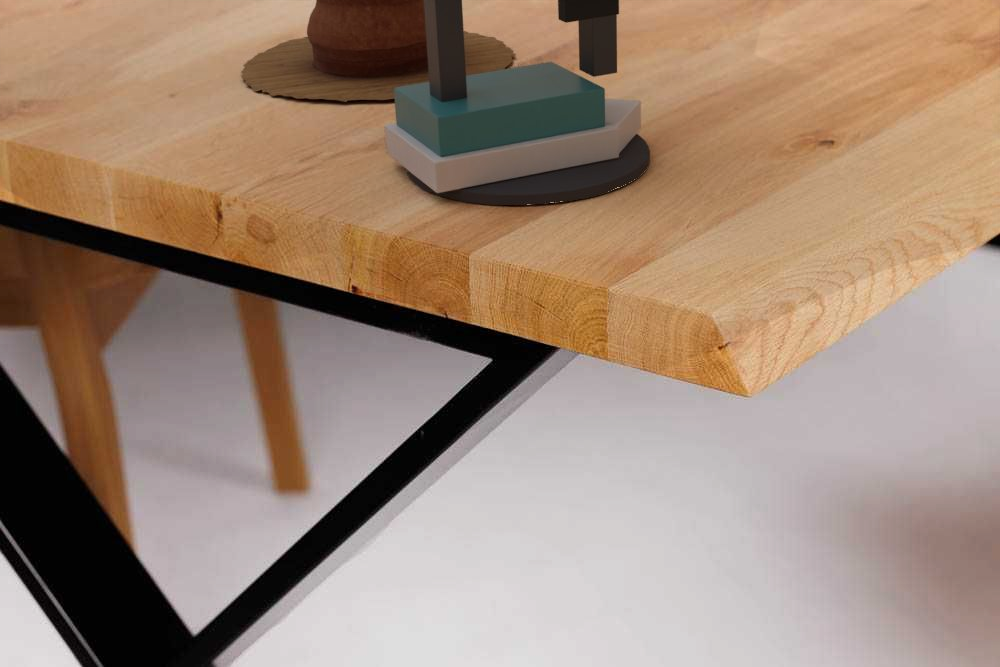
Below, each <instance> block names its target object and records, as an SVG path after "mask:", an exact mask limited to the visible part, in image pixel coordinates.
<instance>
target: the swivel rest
mask: <svg viewBox="0 0 1000 667" xmlns="http://www.w3.org/2000/svg"><path fill="white" fill-rule="evenodd" d="M649 161H651V150H650V146H649V144H648V143H647V141H646V140H645V139H644V138H643V137H642V136H641V135H640V134H638V133H637V134H636V135H635V136H634V137H633V138H632V140H631V141H630V142H629V143H628V144H627V145H626V146H625V147H624V149H623V150H622V151H621V152H620V153H619V158H615V159H610V160H604V161H599V162H594V163H589V164H584V165H579V166H574V167H569V168H564V169H559V170H553V171H548V172H543V173H538V174H533V175H528V176H523V177H518V178H513V179H508V180H503V181H497V182H492V183H487V184H482V185H477V186H472V187H467V188H462V189H457V190H452V191H446V192H441V193H436V192H435V191H434V190H432V189H431V188H430V187H429V186H427V185H426V184H425V183H424V182H422V181H421V180H420V179H418V178H417V177H416V176H415V175H413V174H412V173H411V172H410V171H408V170H407V169H406V173H407V176H408V178H409V179H410V181H411V182H413V183H414V185H416V186H417V187H419V189H422V190H424V191H426V192H428V193H430V194H433V195H435V196H439V197H441V198H446V199H449V200H454V201H458V202H463V203H469V204H478V205H486V206H487V205H489V206H503V205H526V206H528V205H527V204H544V205H546V204H545V203H550V202H554V203H555V202H560V201H563V203H566V202H565V201H570V202H573V201H572V200H576V201H578V200H577V199H581V200H586V199H590V198H594V197H593V196H595V197H598V196H597V195H599V196H601V195H600V194H602V195H604V194H603V193H605V194H607V193H606V192H608V191H611V190H613V189H615V188H617V187H621V186H623V185H625V184H628V183H629V182H631V181H633V180H634V179H636V178H638V177H639V176H640V175H641V174H642V173H643V172H644V171H645V170H646V169H648V168H649V166H650V162H649ZM647 167H648V168H647ZM646 171H647V170H646ZM646 171H645V172H646ZM641 176H642V175H641ZM641 176H640V177H641ZM640 177H639V178H640ZM639 178H638V179H639ZM636 180H637V179H636ZM633 182H634V181H633ZM628 185H629V184H628ZM589 197H590V198H589ZM585 198H586V199H585ZM555 204H556V203H555Z"/></svg>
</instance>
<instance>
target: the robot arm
mask: <svg viewBox="0 0 1000 667" xmlns="http://www.w3.org/2000/svg"><path fill="white" fill-rule="evenodd" d="M557 14H558V20H559V21H561V22H564V23H566V24H567V23H574V22H578V21H580V20H586V19H593V18H599V17H605V16H611V15H617V16H618V15H620V0H557Z"/></svg>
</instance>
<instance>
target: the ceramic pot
mask: <svg viewBox="0 0 1000 667" xmlns="http://www.w3.org/2000/svg"><path fill="white" fill-rule="evenodd" d="M464 48H465V66H466V76H467V75H473V74H480V73H486V72H492V71H498V70H504V69H506V68H507V67H509V65H510V64H512V62H513V58H515V57H516V55H515V53H514V52H515V50H514V49H512V48H511V47H510V46H509V47H508V46H507V45H506V44H505V43H504V41H502V40H499V39H497V38H496V37H495V36H487V35H483V34H479V33H476V32H468V31H466V30H464ZM242 66H243V69H242V71H240V73H241V79H242V80H243V81H245V82H244V84H245V85H246V86H248V87H249V86H250V88H251V89H252V91H254V92H255V93H257V92H259V91H261V92H262V93H267V94H269V95H270V96H272V97H275V96H282V97H292V98H294V99H297V100H299V99H301V100H302V99H308V100H321V99H322V100H328V101H339V102H344V103H347V102H348V101H358V100H359V101H361V100H364V101H365V100H366V101H372V100H373V101H375V100H376V101H386V100H393V99H394V100H395V98H394V88H395V87H401V86H407V85H413V84H419V83H425V82H429V70H428V55H427V40H426V25H425V10H424V0H315V6H314V8H313V9H312V11H311V13H310V15H309V19H308V22H307V26H306V36H304V37H301V38H300V37H299V38H294V39H289V40H286V41H284V42H280V43H278V44H276V45H275V46H273V47H271V48H268V49H266V50H265V51H262V52H258V53H257V54H256V55H254V57H253V56H252V58H250V59H249V60H247V61H246V62H245V63H244V64H243V65H242Z"/></svg>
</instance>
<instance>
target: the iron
mask: <svg viewBox="0 0 1000 667" xmlns="http://www.w3.org/2000/svg"><path fill="white" fill-rule="evenodd" d="M424 10H425V25H426V40H427V55H428V70H429V82H425V83H419V84H413V85H407V86H401V87H395V88H394V109H395V120H396V122H392V123H391V122H390V123H385V124H384V125H383V126H384V140H385V151H386V155H388V156H389V157H390V158H391V159H393V160H394V161H395V162H397V163H398V165H401V166H402V167H403V168H405V169H406V171H407V170H408V171H410V172H411V173H412V174H413V175H415V176H416V177H417V178H418V179H420V180H421V181H422V182H424V183H425V184H426V185H427V186H429V187H430V188H431V189H432V190H434V191H435V192H436V193H441V192H446V191H452V190H457V189H462V188H467V187H472V186H477V185H482V184H487V183H492V182H497V181H503V180H508V179H513V178H518V177H523V176H528V175H533V174H538V173H543V172H548V171H553V170H559V169H564V168H569V167H574V166H579V165H584V164H589V163H594V162H599V161H604V160H610V159H615V158H619V153H620V152H621V151H622V150H623V149H624V147H625V146H626V145H627V144H628V143H629V142H630V141H631V140H632V138H633V137H634V136H635V135H636V134H638V133H639V132H640V131H641V129H642V101H641V100H636V99H635V100H634V99H621V98H619V99H618V98H606V89H605V87H603V86H601V85H599V84H597V83H595V82H593V81H591V80H589V79H587V78H585V77H583V76H581V75H579V74H577V73H575V72H573V71H571V70H569V69H567V68H565V67H563V66H561V65H558V64H557V63H555V62H553V61H546V62H541V63H535V64H528V65H522V66H516V67H511V68H505V69H504V70H498V71H492V72H486V73H480V74H473V75H467V76H466V66H465V48H464V31H465V30H464V16H463V15H464V14H463V12H464V11H463V0H424ZM577 22H578V63H579V64H578V66H579V69H578V70H579V71H580V72H583V73H585V74H587V75H589V76H591V77H593V78H595V77H600V76H601V77H602V76H607V75H613V74H617V73H618V14H617V15H611V16H605V17H599V18H593V19H586V20H580V21H577Z"/></svg>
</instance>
